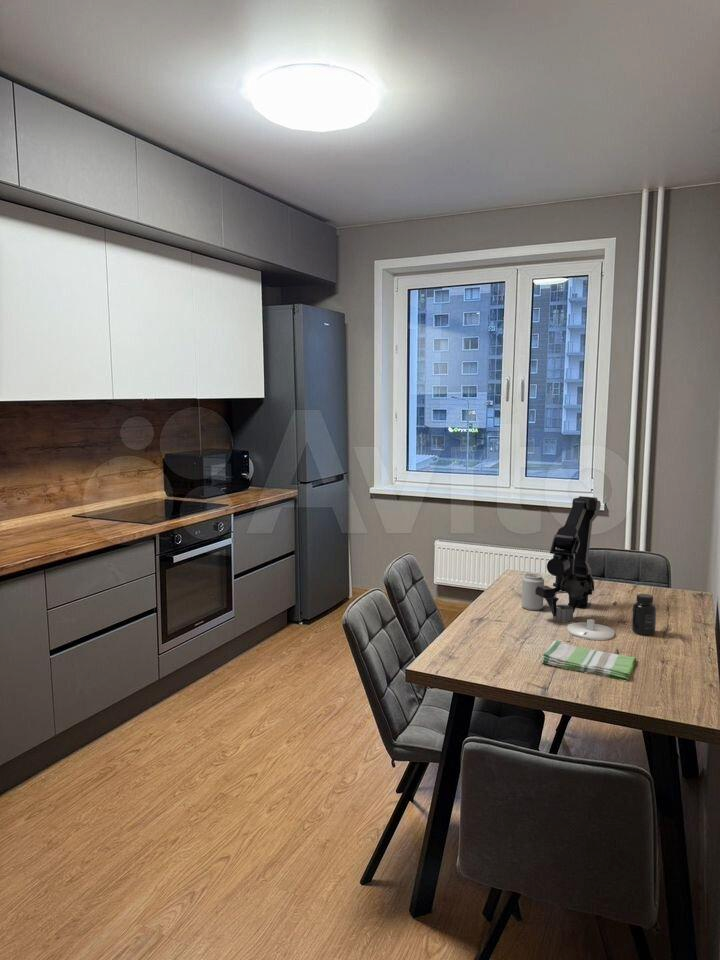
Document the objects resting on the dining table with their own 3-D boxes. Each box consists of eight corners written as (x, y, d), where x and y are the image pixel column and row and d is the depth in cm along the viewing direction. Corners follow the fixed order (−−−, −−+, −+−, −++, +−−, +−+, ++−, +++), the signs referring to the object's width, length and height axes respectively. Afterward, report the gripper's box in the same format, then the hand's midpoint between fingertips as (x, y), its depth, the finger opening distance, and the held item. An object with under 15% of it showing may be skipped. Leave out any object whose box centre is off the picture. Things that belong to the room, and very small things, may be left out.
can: (541, 605, 235) (542, 572, 234) (544, 611, 228) (546, 577, 226) (519, 604, 236) (521, 571, 235) (522, 610, 228) (524, 577, 227)
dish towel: (553, 647, 195) (554, 635, 195) (636, 662, 184) (637, 650, 183) (539, 666, 180) (539, 654, 180) (628, 684, 169) (629, 671, 168)
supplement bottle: (655, 630, 209) (657, 594, 207) (654, 637, 203) (657, 599, 201) (632, 627, 212) (634, 591, 210) (631, 634, 205) (633, 597, 204)
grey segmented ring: (565, 615, 224) (565, 602, 223) (576, 620, 218) (577, 608, 217) (549, 616, 222) (549, 604, 222) (560, 622, 216) (560, 609, 215)
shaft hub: (576, 622, 216) (576, 610, 216) (619, 631, 208) (620, 619, 207) (560, 633, 205) (561, 621, 205) (606, 643, 197) (606, 630, 196)
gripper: (554, 577, 208) (552, 625, 209) (604, 573, 213) (601, 620, 215) (535, 569, 218) (533, 614, 220) (583, 566, 224) (580, 610, 225)
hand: (562, 615), depth 220 cm, fingers closed on grey segmented ring, 6 cm apart
